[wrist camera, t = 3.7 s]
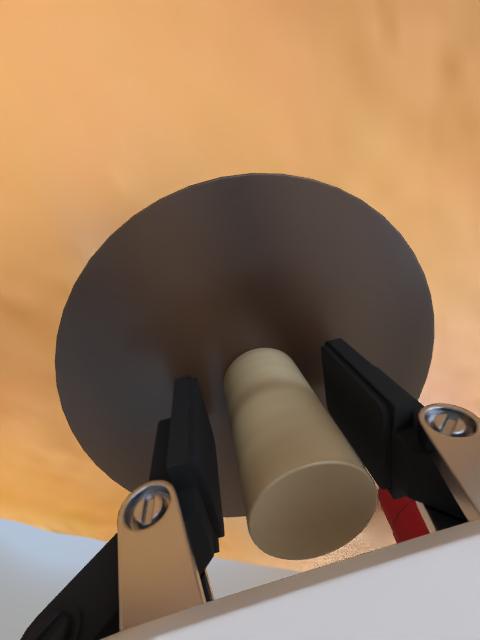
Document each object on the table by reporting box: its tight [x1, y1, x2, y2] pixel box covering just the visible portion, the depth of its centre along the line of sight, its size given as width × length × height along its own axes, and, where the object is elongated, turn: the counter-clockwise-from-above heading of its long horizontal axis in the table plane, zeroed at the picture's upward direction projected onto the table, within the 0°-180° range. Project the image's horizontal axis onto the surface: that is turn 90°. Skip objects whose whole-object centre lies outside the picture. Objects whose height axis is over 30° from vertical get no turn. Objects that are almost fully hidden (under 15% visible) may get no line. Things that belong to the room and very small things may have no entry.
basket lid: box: [55, 173, 434, 560], centre depth 10 cm, size 15×15×7 cm
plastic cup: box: [379, 488, 430, 543], centre depth 25 cm, size 11×11×12 cm
